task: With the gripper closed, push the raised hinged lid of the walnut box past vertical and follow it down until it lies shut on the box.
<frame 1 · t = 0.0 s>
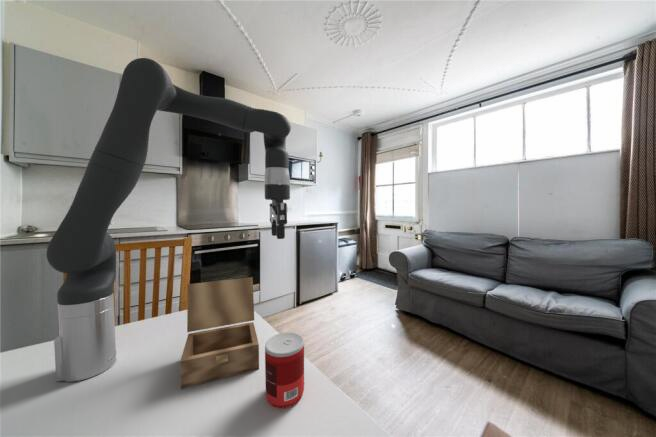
hand: (277, 237, 73), 29 cm above the table, tool pointing down, fingers open, 8 cm apart
lid: (222, 302, 66), point 12 cm above the table, hinge at 105.0°
canned food: (285, 394, 49), on the table
box: (222, 362, 59), on the table
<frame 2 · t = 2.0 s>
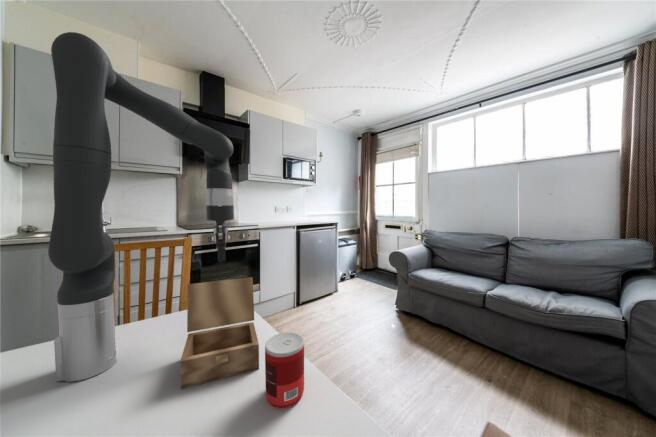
hand: (221, 261, 73), 22 cm above the table, tool pointing down, fingers closed
nothing on the table moved.
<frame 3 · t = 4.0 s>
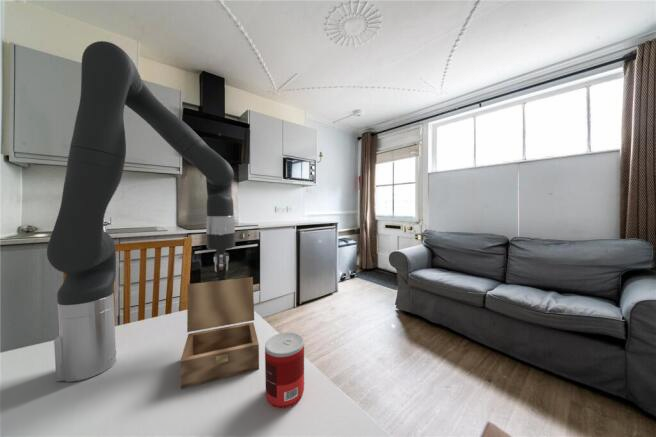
hand: (222, 290, 70), 14 cm above the table, tool pointing down, fingers closed
lid: (222, 302, 66), point 12 cm above the table, hinge at 103.8°, touching gripper
everything else where it was.
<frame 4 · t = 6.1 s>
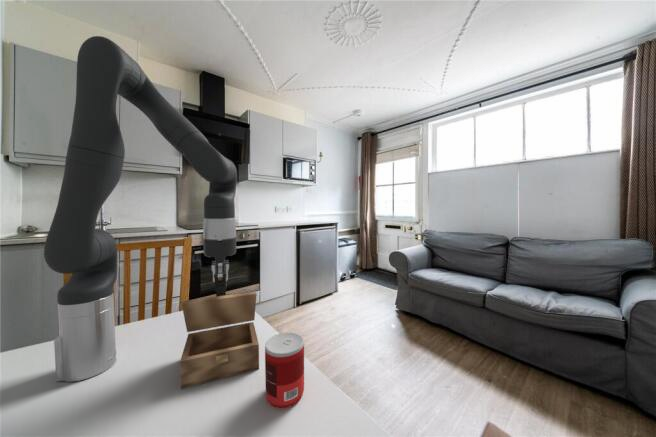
hand: (221, 303, 61), 14 cm above the table, tool pointing down, fingers closed
lid: (221, 311, 62), point 12 cm above the table, hinge at 55.8°, touching gripper
everything else where it was.
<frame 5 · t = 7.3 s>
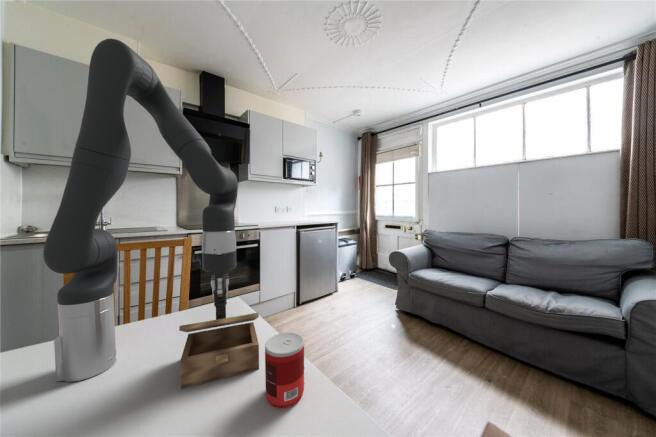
hand: (221, 319, 58), 11 cm above the table, tool pointing down, fingers closed
lid: (221, 322, 60), point 10 cm above the table, hinge at 27.6°, touching gripper
everything else where it was.
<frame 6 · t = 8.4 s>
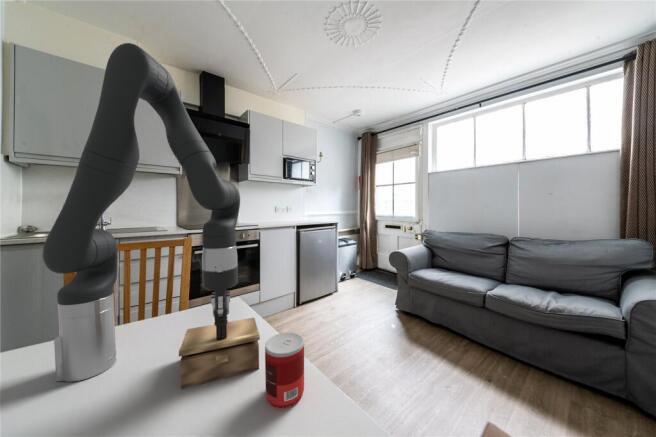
hand: (221, 338, 56), 8 cm above the table, tool pointing down, fingers closed
lid: (222, 333, 59), point 7 cm above the table, hinge at 2.8°, touching gripper
everything else where it was.
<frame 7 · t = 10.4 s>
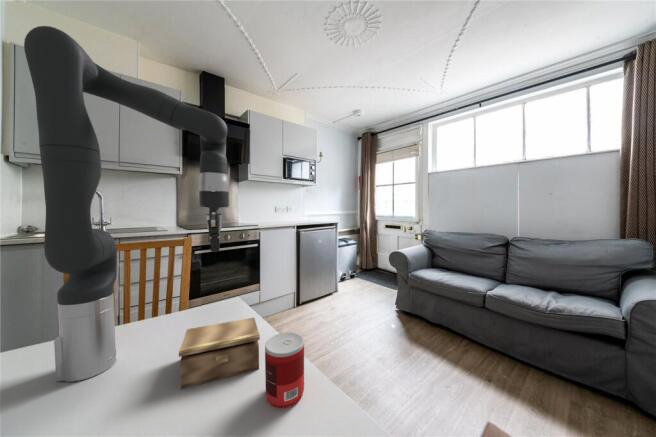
hand: (215, 251, 68), 26 cm above the table, tool pointing down, fingers closed
lid: (222, 333, 59), point 7 cm above the table, hinge at 2.7°
everything else where it was.
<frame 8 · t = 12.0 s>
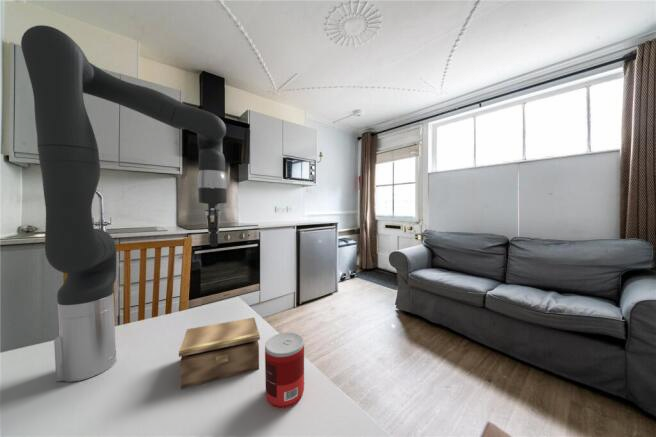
hand: (214, 245, 71), 27 cm above the table, tool pointing down, fingers closed
nothing on the table moved.
at the end: lid at +3° (first picture: +105°); lid touching nothing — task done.
